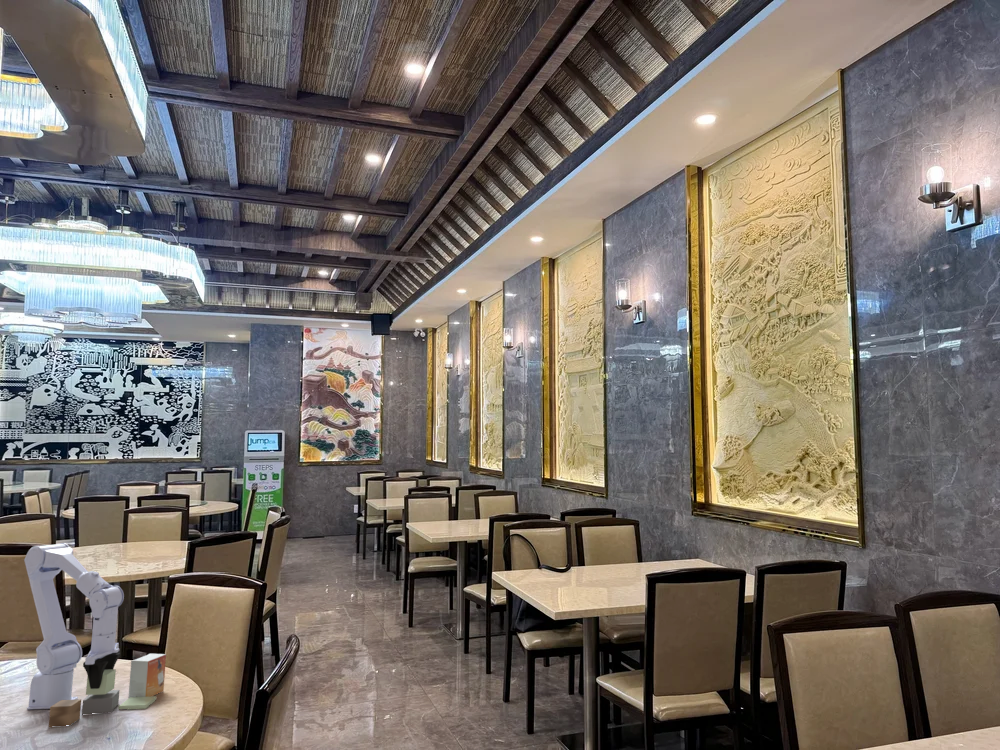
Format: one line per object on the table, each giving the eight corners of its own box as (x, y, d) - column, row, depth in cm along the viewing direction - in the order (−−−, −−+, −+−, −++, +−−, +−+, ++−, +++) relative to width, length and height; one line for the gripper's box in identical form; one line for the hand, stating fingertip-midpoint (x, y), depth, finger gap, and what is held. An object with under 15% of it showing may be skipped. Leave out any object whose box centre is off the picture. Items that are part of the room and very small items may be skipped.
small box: (144, 700, 186) (147, 661, 188) (127, 699, 187) (130, 660, 189) (164, 691, 194) (166, 653, 196) (147, 690, 195) (150, 652, 197)
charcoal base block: (81, 716, 175) (82, 700, 176) (89, 707, 182) (91, 691, 182) (111, 713, 177) (112, 697, 178) (118, 704, 184) (119, 689, 184)
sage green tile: (118, 709, 179) (118, 705, 179) (130, 700, 186) (130, 697, 186) (145, 708, 180) (145, 704, 180) (156, 700, 187) (156, 696, 187)
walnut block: (48, 727, 167) (50, 706, 168) (59, 720, 172) (61, 700, 173) (69, 726, 167) (71, 706, 168) (79, 719, 172) (81, 699, 173)
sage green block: (85, 694, 177) (87, 675, 178) (95, 688, 182) (96, 669, 183) (105, 694, 177) (107, 674, 178) (114, 688, 182) (115, 669, 183)
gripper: (106, 639, 175) (102, 693, 173) (131, 626, 189) (127, 676, 187) (78, 639, 174) (74, 694, 172) (105, 627, 189) (101, 677, 187)
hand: (100, 685), depth 180 cm, fingers closed on sage green block, 5 cm apart
